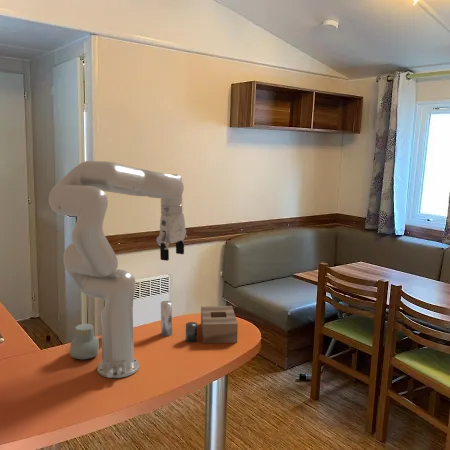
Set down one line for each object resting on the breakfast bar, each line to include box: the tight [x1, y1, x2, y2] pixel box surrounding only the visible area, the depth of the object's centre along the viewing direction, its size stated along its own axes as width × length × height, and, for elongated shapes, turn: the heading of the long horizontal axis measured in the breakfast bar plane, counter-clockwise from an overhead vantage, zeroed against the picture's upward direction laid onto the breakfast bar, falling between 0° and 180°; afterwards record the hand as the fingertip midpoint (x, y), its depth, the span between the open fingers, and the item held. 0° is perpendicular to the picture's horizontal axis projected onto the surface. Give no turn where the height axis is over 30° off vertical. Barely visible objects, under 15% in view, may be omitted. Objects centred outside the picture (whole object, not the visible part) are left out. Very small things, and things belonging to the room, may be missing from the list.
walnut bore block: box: [200, 305, 238, 344], centre depth 173 cm, size 18×12×7 cm, turn 5°
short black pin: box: [185, 321, 198, 344], centre depth 167 cm, size 4×4×6 cm
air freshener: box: [69, 323, 100, 360], centre depth 153 cm, size 11×8×10 cm
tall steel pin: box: [160, 300, 173, 337], centre depth 171 cm, size 4×4×12 cm
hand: (172, 256), depth 169 cm, fingers open, 9 cm apart
